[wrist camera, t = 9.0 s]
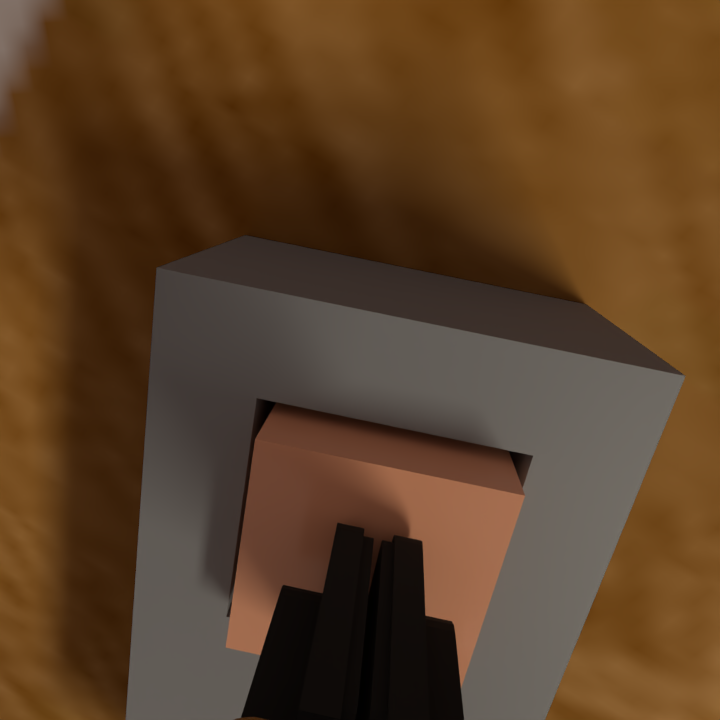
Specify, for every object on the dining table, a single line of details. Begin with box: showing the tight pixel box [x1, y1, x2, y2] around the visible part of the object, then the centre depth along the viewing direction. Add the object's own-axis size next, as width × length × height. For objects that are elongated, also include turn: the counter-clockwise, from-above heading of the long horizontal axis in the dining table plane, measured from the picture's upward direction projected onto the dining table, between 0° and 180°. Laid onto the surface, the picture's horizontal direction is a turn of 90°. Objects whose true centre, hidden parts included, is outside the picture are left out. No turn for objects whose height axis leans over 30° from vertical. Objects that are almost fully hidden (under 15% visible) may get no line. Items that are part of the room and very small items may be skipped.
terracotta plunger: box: [226, 402, 525, 687], centre depth 14 cm, size 5×5×6 cm
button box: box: [126, 235, 685, 720], centre depth 17 cm, size 22×10×6 cm, turn 169°
